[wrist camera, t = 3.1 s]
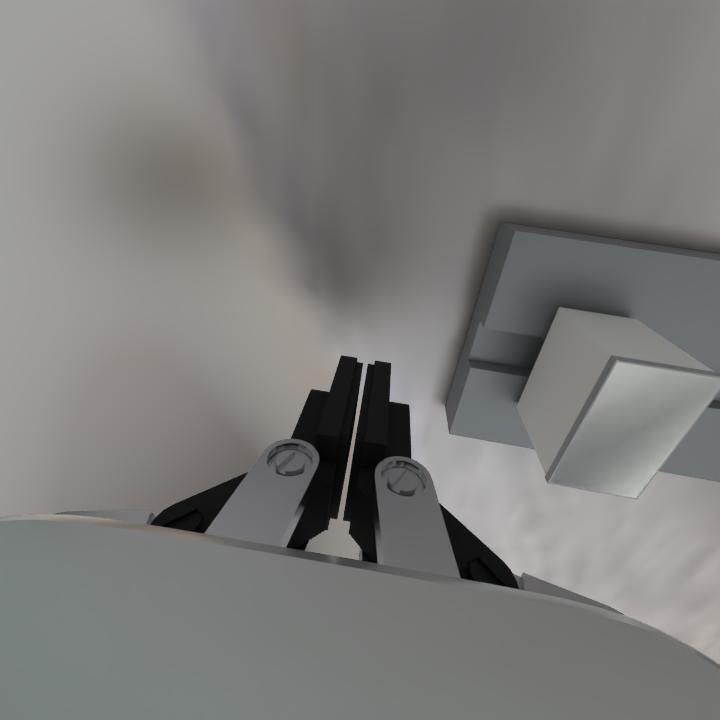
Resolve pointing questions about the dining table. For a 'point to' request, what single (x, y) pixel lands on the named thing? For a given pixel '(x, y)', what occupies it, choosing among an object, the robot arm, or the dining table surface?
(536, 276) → the board
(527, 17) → the dining table surface
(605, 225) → the dining table surface
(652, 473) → the block
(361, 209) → the dining table surface
